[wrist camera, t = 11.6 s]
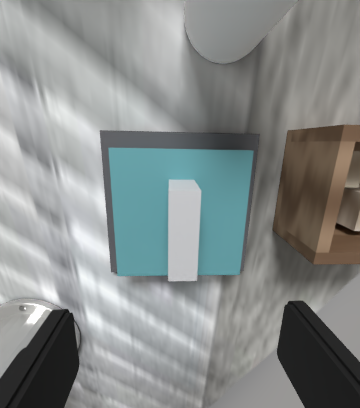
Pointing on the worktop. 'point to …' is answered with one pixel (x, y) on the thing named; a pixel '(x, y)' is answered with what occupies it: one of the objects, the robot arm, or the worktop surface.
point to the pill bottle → (231, 25)
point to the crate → (321, 194)
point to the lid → (179, 211)
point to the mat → (172, 142)
